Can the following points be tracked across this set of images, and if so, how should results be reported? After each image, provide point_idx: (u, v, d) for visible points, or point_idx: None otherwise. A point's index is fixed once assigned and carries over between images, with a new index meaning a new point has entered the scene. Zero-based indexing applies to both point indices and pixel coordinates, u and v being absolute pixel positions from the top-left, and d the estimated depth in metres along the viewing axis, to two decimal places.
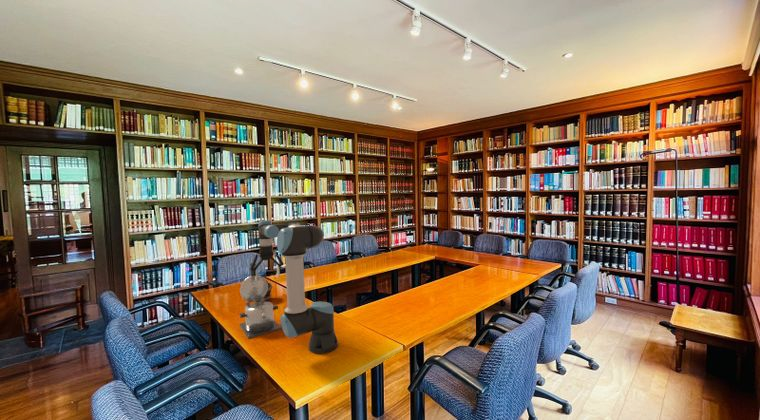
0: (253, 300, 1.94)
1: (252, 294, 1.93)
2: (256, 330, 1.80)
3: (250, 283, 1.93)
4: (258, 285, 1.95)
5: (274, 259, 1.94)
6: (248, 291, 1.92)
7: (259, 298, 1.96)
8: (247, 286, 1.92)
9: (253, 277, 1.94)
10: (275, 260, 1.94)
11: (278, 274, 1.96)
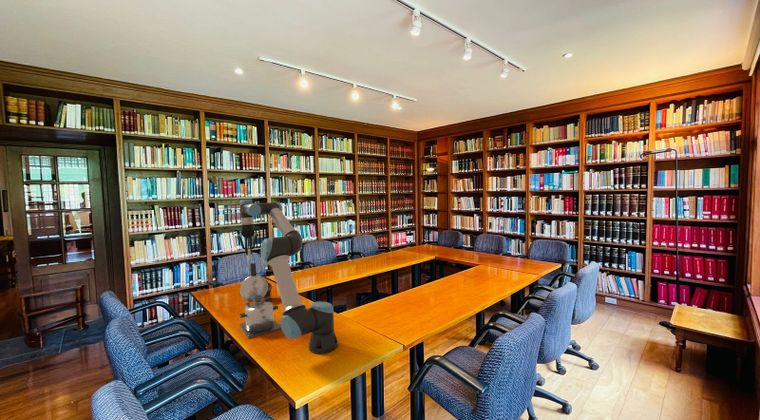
0: (253, 300, 1.94)
1: (252, 294, 1.93)
2: (256, 330, 1.80)
3: (250, 283, 1.93)
4: (258, 285, 1.95)
5: (251, 240, 2.01)
6: (248, 291, 1.92)
7: (259, 298, 1.96)
8: (247, 286, 1.92)
9: (253, 277, 1.94)
10: (251, 241, 2.01)
11: (249, 257, 2.01)
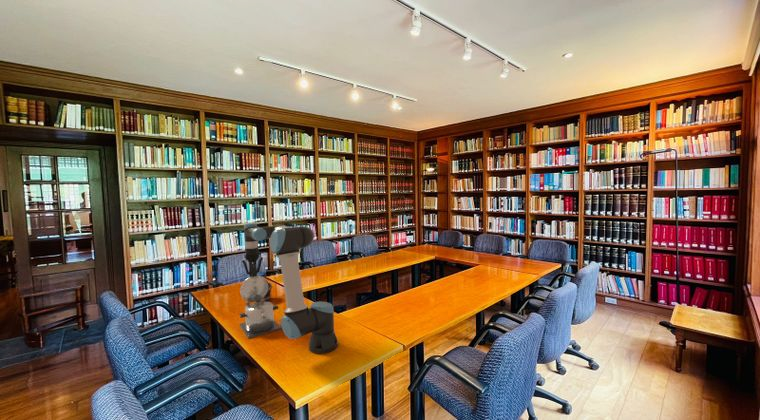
0: (253, 300, 1.94)
1: (252, 294, 1.93)
2: (256, 330, 1.80)
3: (250, 283, 1.92)
4: (258, 285, 1.95)
5: None
6: (248, 291, 1.91)
7: (259, 298, 1.96)
8: (247, 286, 1.91)
9: (254, 277, 1.93)
10: None
11: None
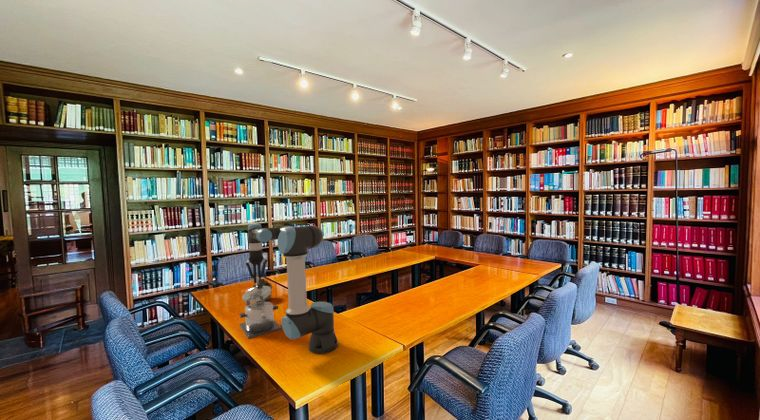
0: (253, 301, 1.93)
1: (254, 298, 1.90)
2: (256, 330, 1.80)
3: (254, 292, 1.85)
4: (262, 293, 1.90)
5: None
6: (250, 297, 1.87)
7: (260, 299, 1.95)
8: (251, 294, 1.85)
9: (259, 289, 1.84)
10: (260, 268, 1.87)
11: None
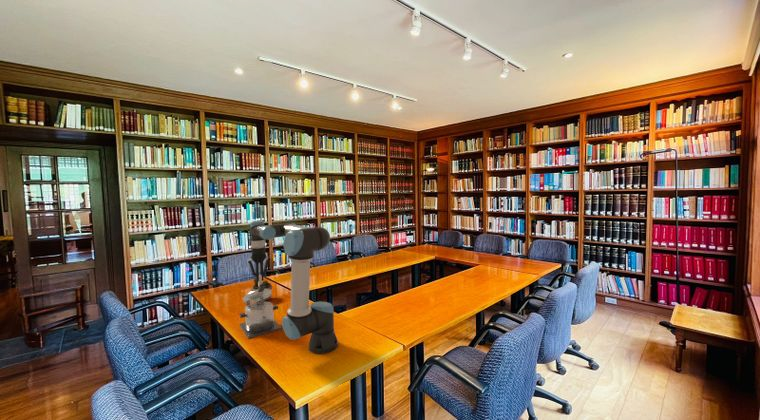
0: (253, 301, 1.93)
1: (254, 299, 1.90)
2: (256, 330, 1.80)
3: (255, 295, 1.85)
4: (262, 295, 1.89)
5: (262, 265, 1.82)
6: (251, 299, 1.87)
7: (260, 300, 1.95)
8: (251, 297, 1.85)
9: (259, 292, 1.83)
10: (262, 266, 1.82)
11: (260, 284, 1.81)
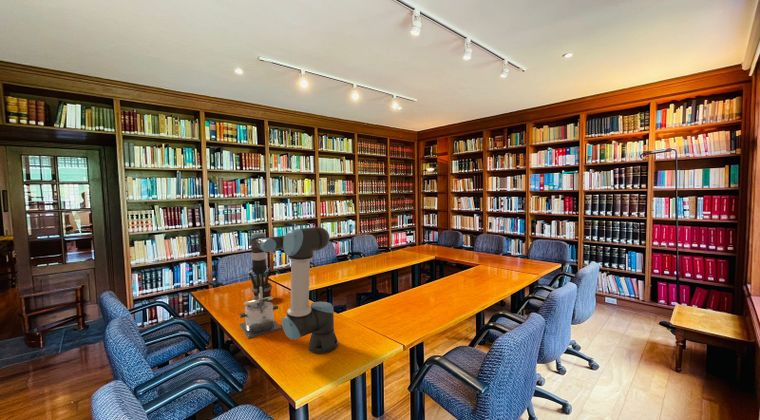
0: None
1: None
2: (256, 330, 1.80)
3: None
4: None
5: (263, 276, 1.82)
6: None
7: None
8: None
9: None
10: (263, 278, 1.82)
11: (261, 295, 1.82)
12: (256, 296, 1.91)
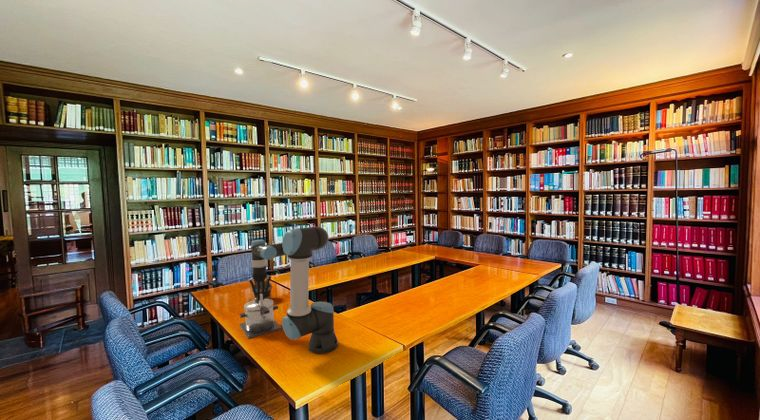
0: None
1: None
2: (256, 330, 1.80)
3: None
4: None
5: (263, 284, 1.82)
6: None
7: None
8: None
9: None
10: (263, 285, 1.83)
11: (261, 302, 1.82)
12: None
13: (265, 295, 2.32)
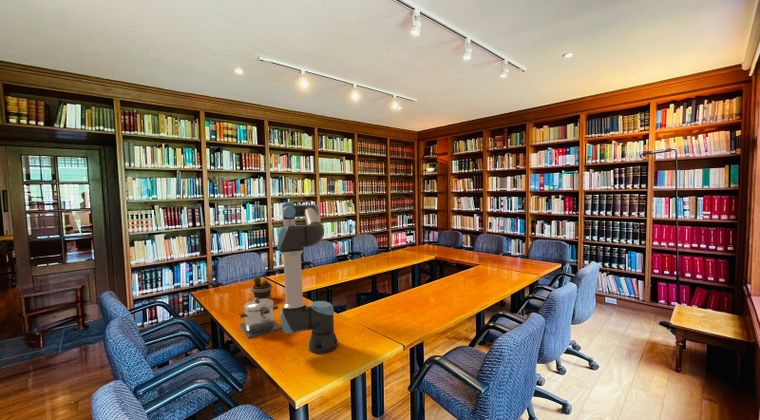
0: None
1: None
2: (256, 330, 1.80)
3: None
4: None
5: None
6: None
7: None
8: None
9: None
10: None
11: None
12: (257, 298, 1.90)
13: (265, 295, 2.32)
